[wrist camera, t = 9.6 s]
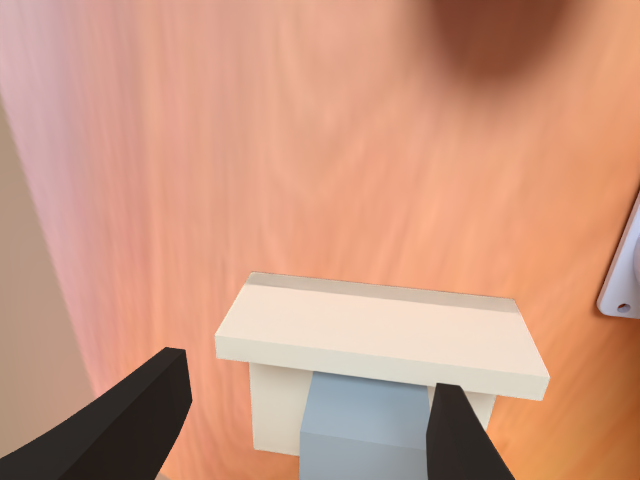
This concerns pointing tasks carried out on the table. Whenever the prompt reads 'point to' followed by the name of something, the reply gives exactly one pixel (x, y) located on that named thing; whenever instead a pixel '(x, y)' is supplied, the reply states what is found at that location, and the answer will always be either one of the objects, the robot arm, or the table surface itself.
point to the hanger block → (363, 429)
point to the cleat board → (371, 345)
